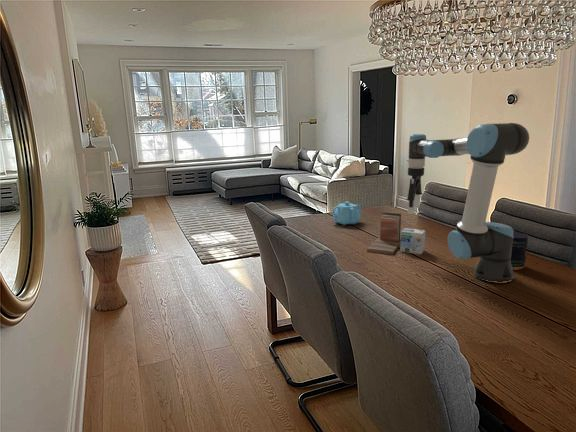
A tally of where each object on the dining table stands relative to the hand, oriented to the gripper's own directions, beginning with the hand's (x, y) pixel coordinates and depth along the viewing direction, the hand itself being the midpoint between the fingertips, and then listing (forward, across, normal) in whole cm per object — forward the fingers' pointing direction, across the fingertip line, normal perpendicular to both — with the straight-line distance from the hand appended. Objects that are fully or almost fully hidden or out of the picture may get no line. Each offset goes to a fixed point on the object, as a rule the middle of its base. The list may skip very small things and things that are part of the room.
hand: (413, 210), depth 217 cm
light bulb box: (+21, 0, 0) cm, 21 cm away
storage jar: (+21, +4, +45) cm, 50 cm away
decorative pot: (+22, -39, -48) cm, 65 cm away
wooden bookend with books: (+21, -2, -14) cm, 25 cm away
